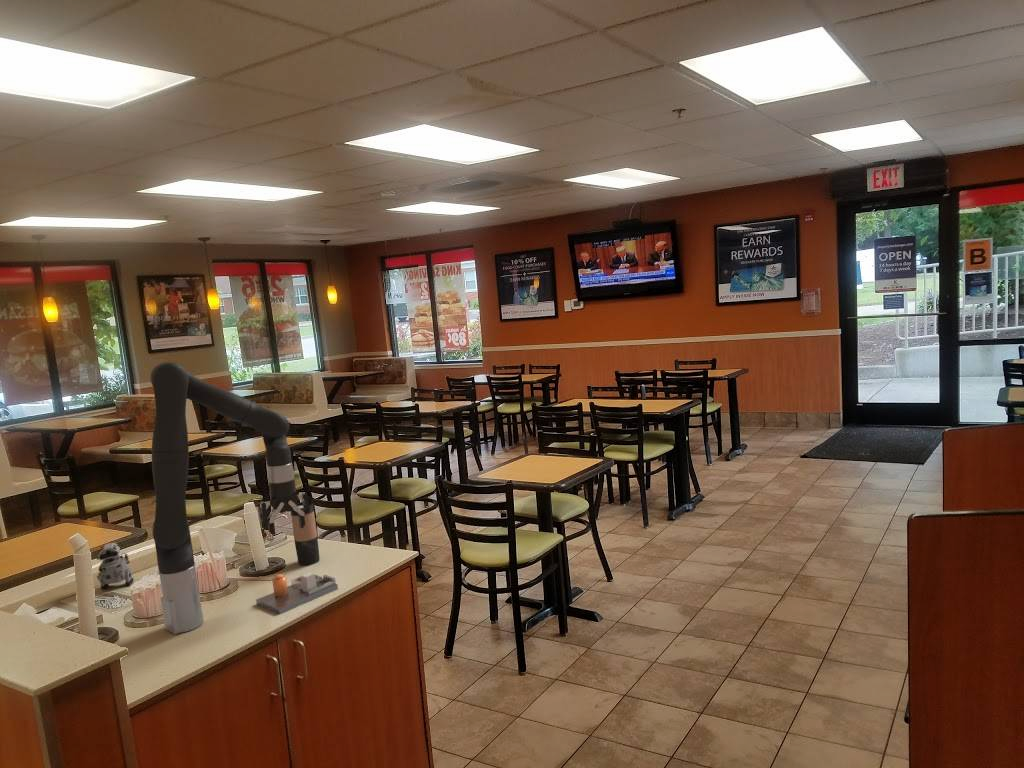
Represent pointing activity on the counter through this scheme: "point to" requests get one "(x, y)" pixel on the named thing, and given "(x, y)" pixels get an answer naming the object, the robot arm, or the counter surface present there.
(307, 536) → the travel mug
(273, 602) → the panel
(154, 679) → the counter surface
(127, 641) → the counter surface
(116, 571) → the figurine
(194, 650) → the counter surface
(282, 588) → the cap
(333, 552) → the counter surface
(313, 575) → the block
